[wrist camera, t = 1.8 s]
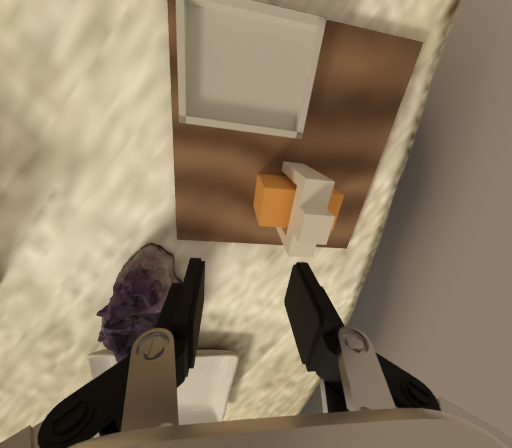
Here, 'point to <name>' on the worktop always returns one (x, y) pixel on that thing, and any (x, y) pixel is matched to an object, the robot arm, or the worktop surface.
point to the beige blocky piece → (307, 211)
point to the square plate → (191, 383)
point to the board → (294, 139)
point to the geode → (137, 299)
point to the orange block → (282, 200)
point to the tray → (246, 65)
